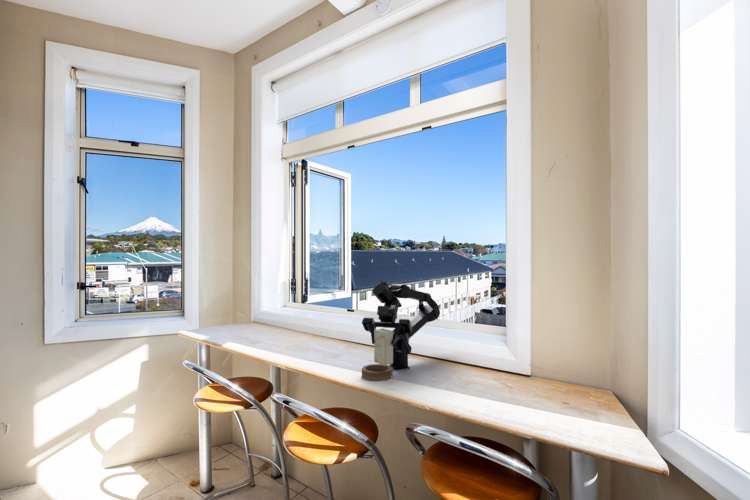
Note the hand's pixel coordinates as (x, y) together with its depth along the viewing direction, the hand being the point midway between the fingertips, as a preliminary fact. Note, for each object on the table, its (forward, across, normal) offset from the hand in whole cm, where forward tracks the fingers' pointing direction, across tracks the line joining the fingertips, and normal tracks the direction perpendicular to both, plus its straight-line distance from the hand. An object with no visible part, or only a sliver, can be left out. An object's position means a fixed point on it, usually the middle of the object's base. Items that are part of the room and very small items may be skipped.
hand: (382, 344), depth 135 cm
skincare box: (+4, 0, +6) cm, 7 cm away
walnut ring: (+7, -3, +11) cm, 14 cm away
